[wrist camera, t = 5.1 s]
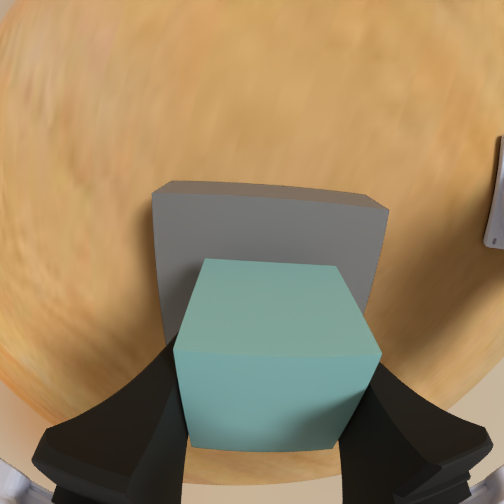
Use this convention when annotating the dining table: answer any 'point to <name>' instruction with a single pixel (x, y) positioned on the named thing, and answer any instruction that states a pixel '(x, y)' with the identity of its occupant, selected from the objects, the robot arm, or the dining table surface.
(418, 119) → the dining table surface
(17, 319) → the dining table surface
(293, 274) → the teal cube
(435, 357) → the dining table surface
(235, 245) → the charcoal plinth
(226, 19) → the dining table surface
